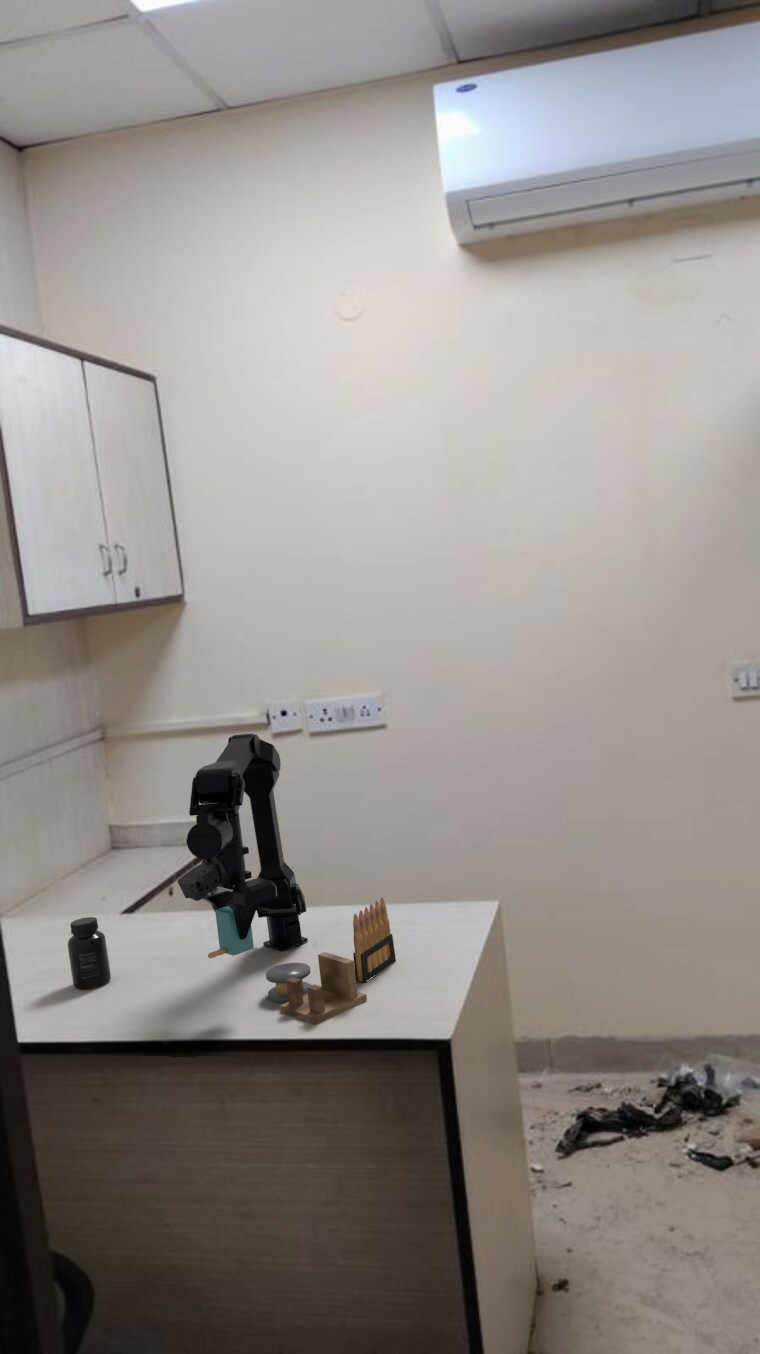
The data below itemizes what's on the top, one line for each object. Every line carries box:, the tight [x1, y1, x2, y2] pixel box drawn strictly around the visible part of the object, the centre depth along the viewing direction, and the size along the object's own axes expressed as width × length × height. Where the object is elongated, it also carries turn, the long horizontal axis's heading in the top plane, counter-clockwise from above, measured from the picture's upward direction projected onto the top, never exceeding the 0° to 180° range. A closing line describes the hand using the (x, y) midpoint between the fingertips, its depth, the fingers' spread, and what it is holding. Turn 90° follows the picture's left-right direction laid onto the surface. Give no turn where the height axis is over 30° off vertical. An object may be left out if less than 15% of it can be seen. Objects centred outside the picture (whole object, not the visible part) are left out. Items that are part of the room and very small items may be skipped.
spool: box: [265, 962, 312, 1004], centre depth 176 cm, size 8×8×4 cm
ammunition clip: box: [352, 897, 397, 984], centre depth 182 cm, size 11×2×12 cm, turn 148°
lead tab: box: [207, 906, 255, 959], centre depth 169 cm, size 4×7×7 cm, turn 132°
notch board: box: [279, 951, 368, 1025], centre depth 169 cm, size 9×11×7 cm
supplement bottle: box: [67, 916, 112, 991], centre depth 191 cm, size 7×7×12 cm
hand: (235, 936), depth 170 cm, fingers closed on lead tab, 4 cm apart
